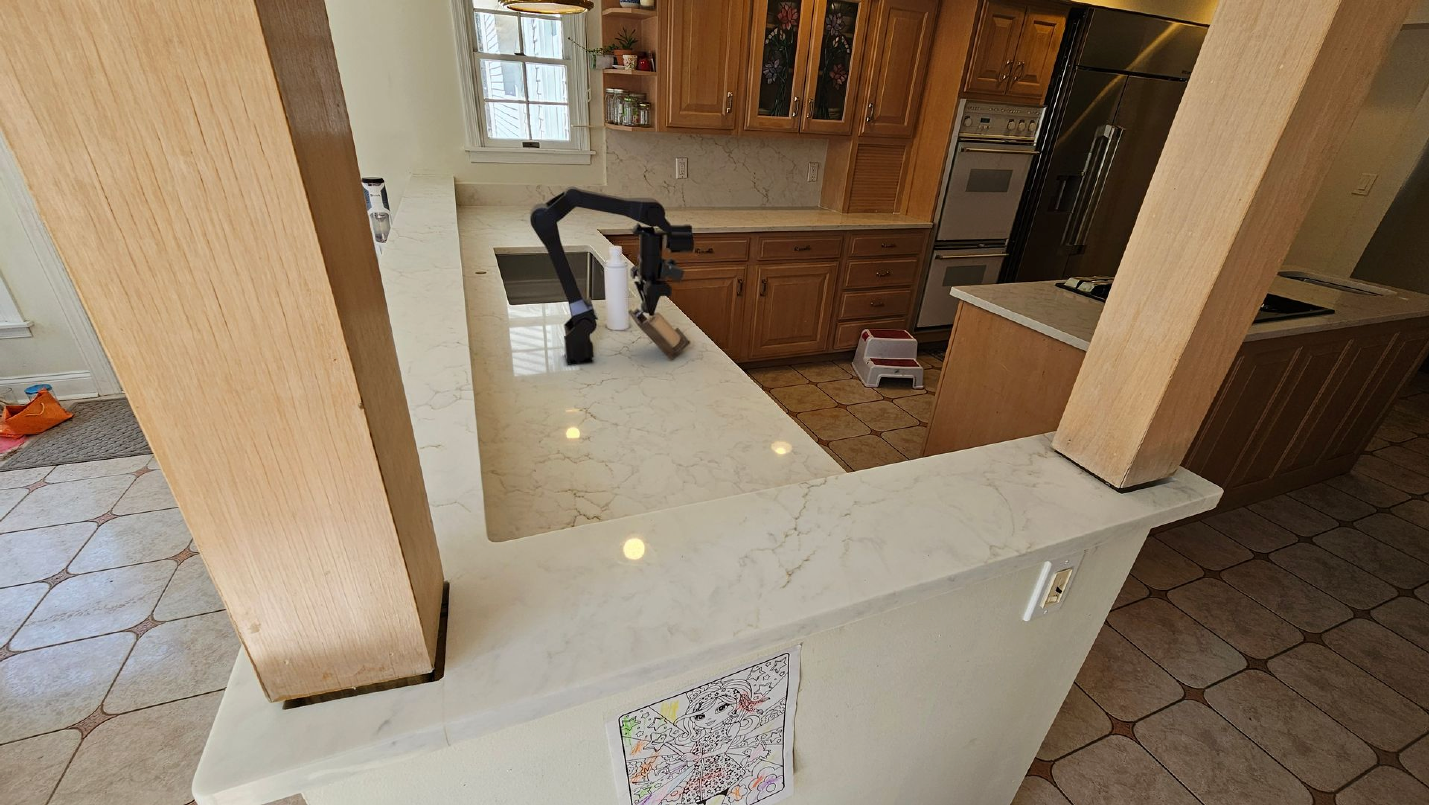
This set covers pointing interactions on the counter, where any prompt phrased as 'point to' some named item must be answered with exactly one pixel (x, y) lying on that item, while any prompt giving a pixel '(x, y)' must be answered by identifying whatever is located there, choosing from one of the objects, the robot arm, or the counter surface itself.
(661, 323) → the paper roll
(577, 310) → the robot arm
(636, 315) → the tipping cradle
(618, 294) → the spray bottle
